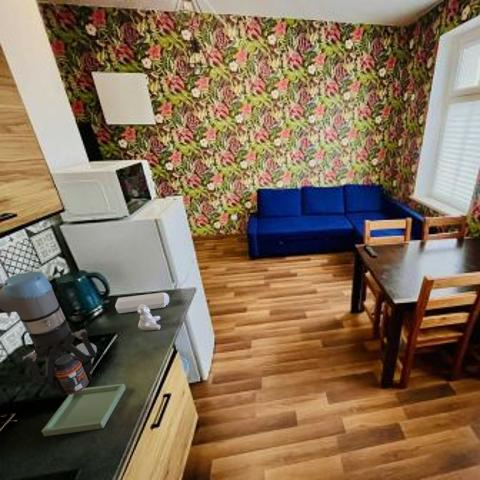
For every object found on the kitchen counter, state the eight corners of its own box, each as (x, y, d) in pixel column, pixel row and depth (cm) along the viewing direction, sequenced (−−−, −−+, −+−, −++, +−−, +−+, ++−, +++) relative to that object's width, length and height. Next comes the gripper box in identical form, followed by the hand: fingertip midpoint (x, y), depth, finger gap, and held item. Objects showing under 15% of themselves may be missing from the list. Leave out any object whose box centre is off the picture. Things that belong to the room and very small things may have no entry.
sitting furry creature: (161, 330, 120) (154, 308, 115) (138, 336, 116) (131, 314, 111) (160, 317, 127) (155, 296, 122) (139, 323, 123) (133, 302, 119)
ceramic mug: (100, 352, 107) (93, 337, 104) (95, 367, 101) (88, 352, 98) (66, 362, 103) (58, 347, 100) (59, 378, 96) (50, 362, 93)
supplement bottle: (87, 390, 80) (74, 362, 76) (62, 399, 78) (46, 371, 73) (91, 375, 85) (79, 348, 81) (67, 383, 82) (53, 356, 78)
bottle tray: (44, 436, 78) (41, 431, 77) (75, 394, 90) (73, 389, 90) (103, 428, 80) (100, 423, 80) (125, 388, 93) (124, 383, 92)
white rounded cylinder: (109, 311, 125) (166, 303, 131) (113, 297, 129) (167, 290, 135) (117, 317, 131) (170, 309, 137) (120, 303, 135) (172, 296, 141)
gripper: (-3, 354, 63) (37, 418, 72) (94, 313, 77) (117, 371, 86) (-7, 340, 67) (31, 402, 76) (86, 303, 81) (108, 360, 90)
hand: (77, 385), depth 81 cm, fingers closed on supplement bottle, 6 cm apart
